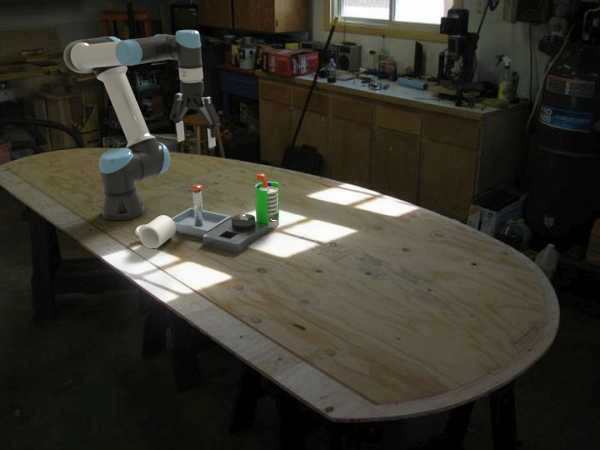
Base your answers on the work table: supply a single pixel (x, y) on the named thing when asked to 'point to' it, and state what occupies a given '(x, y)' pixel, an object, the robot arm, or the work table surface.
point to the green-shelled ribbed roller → (267, 201)
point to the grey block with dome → (236, 233)
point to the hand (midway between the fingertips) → (196, 143)
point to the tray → (187, 226)
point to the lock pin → (197, 204)
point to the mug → (156, 231)
